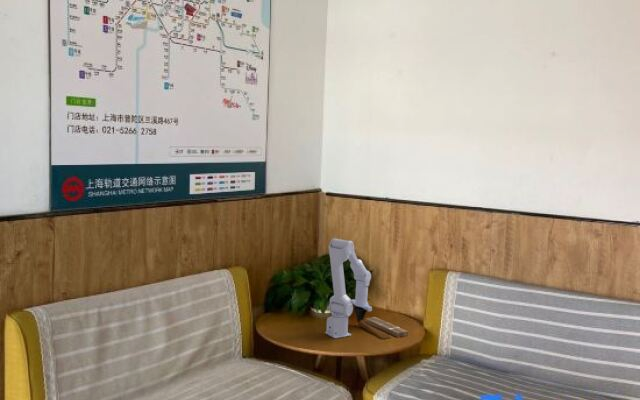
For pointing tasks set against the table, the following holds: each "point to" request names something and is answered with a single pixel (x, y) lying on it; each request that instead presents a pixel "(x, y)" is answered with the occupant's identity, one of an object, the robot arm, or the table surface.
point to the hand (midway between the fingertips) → (359, 322)
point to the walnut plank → (386, 327)
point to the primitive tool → (373, 330)
